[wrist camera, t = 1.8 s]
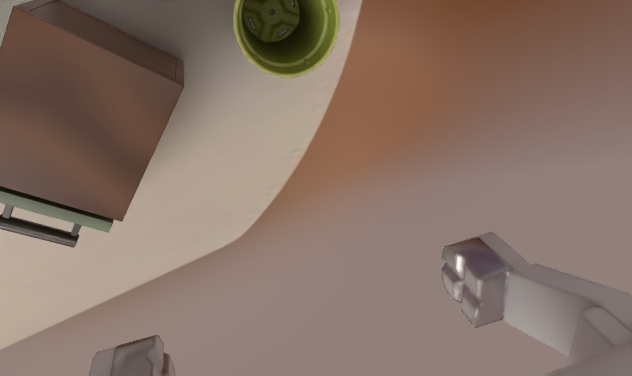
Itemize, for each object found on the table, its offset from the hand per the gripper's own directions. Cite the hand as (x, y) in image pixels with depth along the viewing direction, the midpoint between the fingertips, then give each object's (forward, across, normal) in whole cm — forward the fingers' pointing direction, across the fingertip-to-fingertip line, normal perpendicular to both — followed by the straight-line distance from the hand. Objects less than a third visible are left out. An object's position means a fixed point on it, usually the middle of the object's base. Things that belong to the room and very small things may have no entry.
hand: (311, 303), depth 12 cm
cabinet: (+38, +13, +2) cm, 40 cm away
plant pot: (+38, -6, -2) cm, 39 cm away
